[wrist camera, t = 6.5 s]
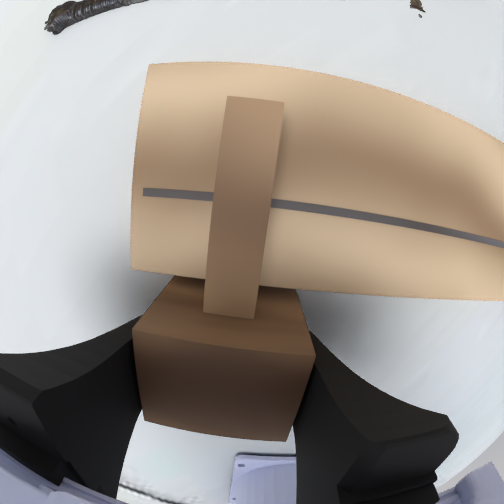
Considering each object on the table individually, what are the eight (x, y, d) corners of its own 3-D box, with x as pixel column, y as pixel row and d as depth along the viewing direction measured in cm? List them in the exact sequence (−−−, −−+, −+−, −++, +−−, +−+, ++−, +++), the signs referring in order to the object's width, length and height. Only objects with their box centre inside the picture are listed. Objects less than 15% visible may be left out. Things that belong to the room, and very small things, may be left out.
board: (513, 292, 12) (527, 301, 10) (145, 258, 12) (129, 269, 10) (534, 173, 10) (550, 175, 8) (161, 76, 10) (148, 63, 8)
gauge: (278, 361, 13) (286, 441, 8) (176, 347, 13) (144, 420, 8) (319, 131, 10) (363, 98, 5) (194, 116, 10) (148, 75, 5)
